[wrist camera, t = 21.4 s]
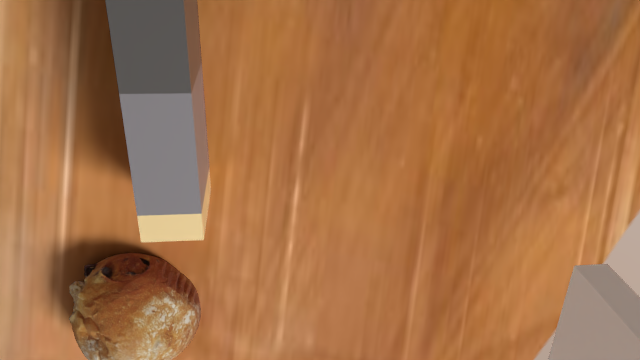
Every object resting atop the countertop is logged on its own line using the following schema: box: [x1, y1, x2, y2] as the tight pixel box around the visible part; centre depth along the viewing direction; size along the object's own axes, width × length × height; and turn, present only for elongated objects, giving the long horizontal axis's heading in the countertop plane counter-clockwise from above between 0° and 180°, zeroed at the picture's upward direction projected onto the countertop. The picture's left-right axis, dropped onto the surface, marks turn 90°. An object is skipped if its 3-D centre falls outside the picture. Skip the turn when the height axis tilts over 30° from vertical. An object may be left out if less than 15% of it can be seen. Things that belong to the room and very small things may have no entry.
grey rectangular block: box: [105, 0, 211, 242], centre depth 34 cm, size 4×16×7 cm, turn 178°
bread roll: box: [69, 253, 201, 360], centre depth 43 cm, size 10×10×8 cm
